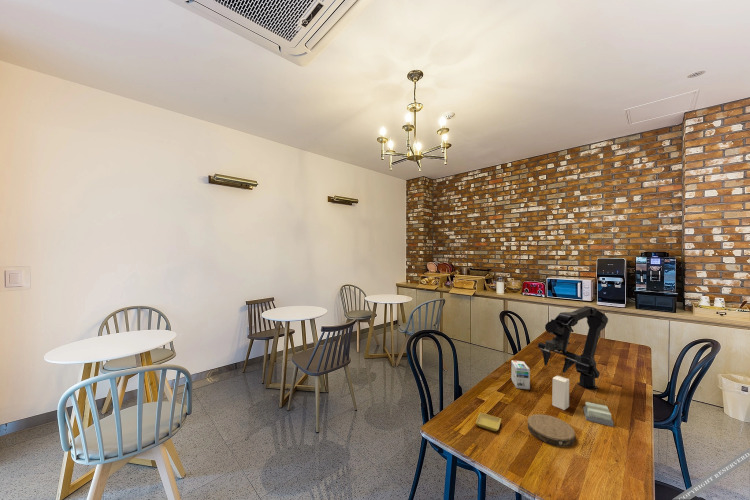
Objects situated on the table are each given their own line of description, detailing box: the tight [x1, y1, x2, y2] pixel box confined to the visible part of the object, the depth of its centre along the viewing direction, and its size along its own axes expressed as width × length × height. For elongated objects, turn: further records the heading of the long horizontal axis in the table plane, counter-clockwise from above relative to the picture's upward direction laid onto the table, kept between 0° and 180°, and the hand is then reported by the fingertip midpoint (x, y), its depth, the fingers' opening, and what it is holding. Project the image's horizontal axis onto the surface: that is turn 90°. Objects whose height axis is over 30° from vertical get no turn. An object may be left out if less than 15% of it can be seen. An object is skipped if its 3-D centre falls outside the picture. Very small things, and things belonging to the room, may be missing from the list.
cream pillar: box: [551, 375, 570, 411], centre depth 133 cm, size 5×5×12 cm
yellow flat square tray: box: [475, 412, 502, 432], centre depth 118 cm, size 9×9×2 cm
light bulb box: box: [510, 360, 531, 390], centre depth 154 cm, size 11×7×11 cm, turn 168°
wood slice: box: [527, 413, 576, 448], centre depth 113 cm, size 16×16×3 cm
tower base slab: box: [583, 405, 614, 428], centre depth 123 cm, size 9×9×2 cm
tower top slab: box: [585, 401, 612, 421], centre depth 123 cm, size 8×8×2 cm
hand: (554, 368), depth 142 cm, fingers open, 9 cm apart
